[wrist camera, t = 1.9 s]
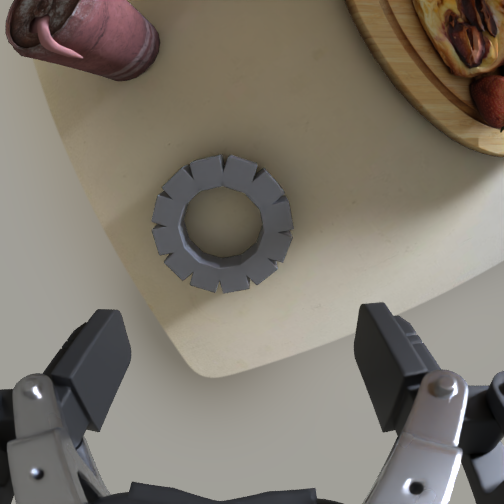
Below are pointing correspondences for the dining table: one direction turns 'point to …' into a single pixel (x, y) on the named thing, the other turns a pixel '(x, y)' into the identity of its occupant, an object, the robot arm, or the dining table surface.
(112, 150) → the dining table surface
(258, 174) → the gear
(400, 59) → the wooden plate
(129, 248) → the dining table surface
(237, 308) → the dining table surface
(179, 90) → the dining table surface
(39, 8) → the can
